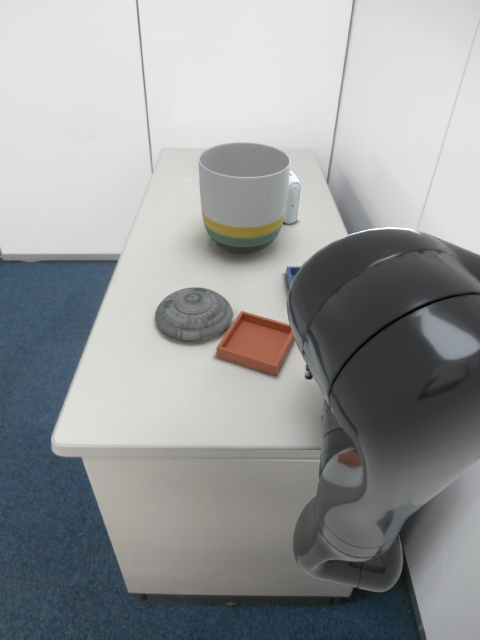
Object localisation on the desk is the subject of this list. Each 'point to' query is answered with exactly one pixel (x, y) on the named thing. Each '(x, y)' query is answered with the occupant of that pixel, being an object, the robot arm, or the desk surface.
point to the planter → (243, 194)
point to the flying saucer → (193, 314)
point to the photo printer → (292, 199)
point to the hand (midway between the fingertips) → (356, 332)
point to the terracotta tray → (256, 342)
